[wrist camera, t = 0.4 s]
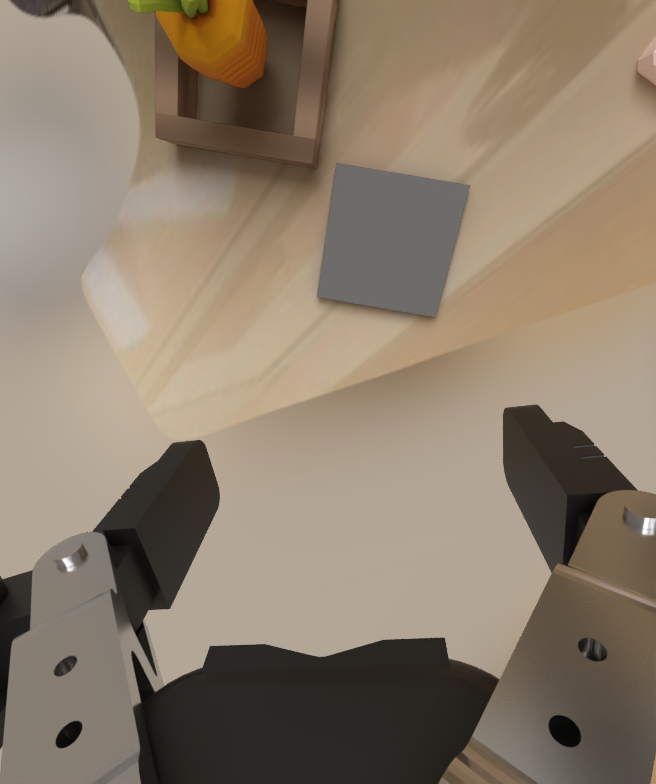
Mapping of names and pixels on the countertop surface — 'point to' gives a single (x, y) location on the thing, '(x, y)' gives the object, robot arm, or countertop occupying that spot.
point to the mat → (390, 239)
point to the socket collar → (298, 149)
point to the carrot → (214, 36)
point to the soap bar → (648, 62)
